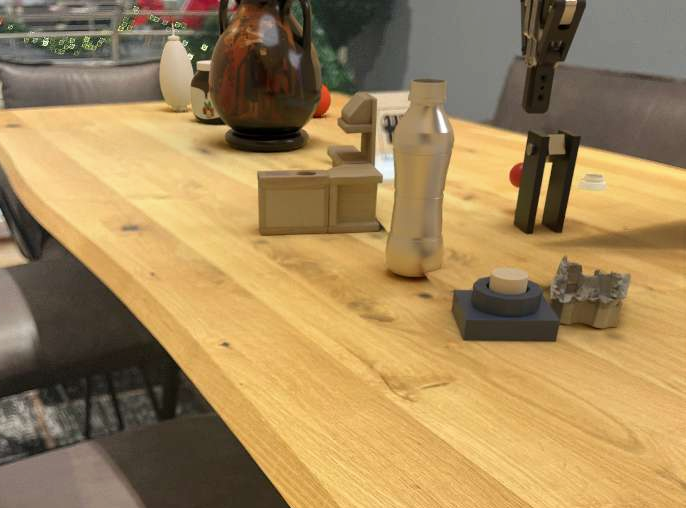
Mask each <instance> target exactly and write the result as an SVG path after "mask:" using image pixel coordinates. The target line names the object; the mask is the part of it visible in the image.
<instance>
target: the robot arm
mask: <svg viewBox="0 0 686 508" xmlns="http://www.w3.org/2000/svg"><path fill="white" fill-rule="evenodd" d="M519 3H520V33H521V38H520V39H521V41H520V42H521V48H520V52H521V56H522V57H524V63H525V64H524V65H525V66H526V73H525V81H524V87H523V94H522V100H521V109H522V110H523V111H524V112H525V113H527V114H529V115H530V114H531V115H534V114H535V115H537V114H542V115H543V114H546V113H547V112H548V110H549V108H550V102H551V95H552V89H553V84H554V83H553V82H554V77H555V71H556V69H558V67H559V65H560V63H564V62H565V61H566V59H567V57H568V53H569V51H570V48H571V46H572V43H573V41H574V38H575V36H576V33H577V31H578V28H579V26H580V23H581V21H582V18H583V15H584V13H585V10H586V8H587V0H519Z"/></svg>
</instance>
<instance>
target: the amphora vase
mask: <svg viewBox="0 0 686 508" xmlns="http://www.w3.org/2000/svg"><path fill="white" fill-rule="evenodd" d="M295 1H296V0H234V2H235V5H236V12H235V14H234V16H233V18H231V21H230V22H228V20H229V19H228V9H229V8H228V7H229V2H230V0H219V1H218V12H217V13H218V33H219V38H218V40H217V42H216V43H215V46H214V49H213V51H212V54H211V63H210V70H209V81H208V82H209V92H210V98H211V101H212V103H213V106H214V108H215V110H216V112H217V113H218V115H219V116H220V118H221V119H222V120H223V121H224V122H225V124H224V125H226V126H227V127H228V128H230V129H228V130H227V131H226V132H225V134H224V140H225V142H226V143H227V144H228V145H229V146H230V147H233V148H235V149H239V150H242V151H251V152H282V151H283V152H284V151H291V150H296V149H300V148H301V147H303V146H304V145H306V144H307V143H308V141H309V138H310V135H309V133H308V132H307V131H306V130H305V129H304V127H306V126H307V125H308V124H309V123H310V121H312V119H313V115H314V114H315V112H316V110H317V108H318V106H319V103H320V100H321V97H322V84H323V76H322V69H321V63H320V60H319V56H318V53H317V51H316V48H315V46H314V44H313V42H312V40H313V39H312V31H313V13H312V5H311V2H310V0H297V1H298V2H299V3H300V6H301V11H302V18H303V20H302V26H301V25H300V23H299V22H298V21H297V19H296V17H295V16H294V15H293V13H292V9H293V4H294V2H295Z"/></svg>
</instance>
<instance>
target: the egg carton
mask: <svg viewBox="0 0 686 508" xmlns="http://www.w3.org/2000/svg"><path fill="white" fill-rule="evenodd" d="M583 272H584V271H583V265H582V264H581V263H579V262H575V261H572V262H571V261H569V260H568V255H564V256H562V257H561V260H560V262H559V264H558V267H557V271H556V273H555V275H554V277H553V279H552V282H551V284H550V297H549V298H550V299H549V302H551V304H550V306H551V308H552V309H553V311H554V312H555V314H556V315H557V317H558V318H559V320H560V324H562V325H567V326H570V325H571V324H586V325H588V326H591V327H593V328H597V329H607V328H617V327H618V322H619V318H620V315H621V311H622V308H623V307H622V306H623V302H622V300H624V299H627V296H628V292H629V291H628V290H629V287H630V284H631V276H632V275H631V273H619V272H614V270H611V271H610V273H603V272H602V271H601V269H600V268H598V269H595V270H594V272H593V275H591V274H584V273H583ZM568 282H571V283H568ZM572 282H573V283H572Z"/></svg>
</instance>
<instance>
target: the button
mask: <svg viewBox="0 0 686 508" xmlns="http://www.w3.org/2000/svg"><path fill="white" fill-rule="evenodd" d="M490 276H491V277H490V283H489V289H490V290H492V291H494V292H496V293H501V294H506V295H518V294H523V293H526V289H527V284H528V280H529V277H530V275H529V273H528V272H527V271H525V270H523V269H521V268H517V267H516V268H515V267H497V268H494V269H492V270H491V271H490Z"/></svg>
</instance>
